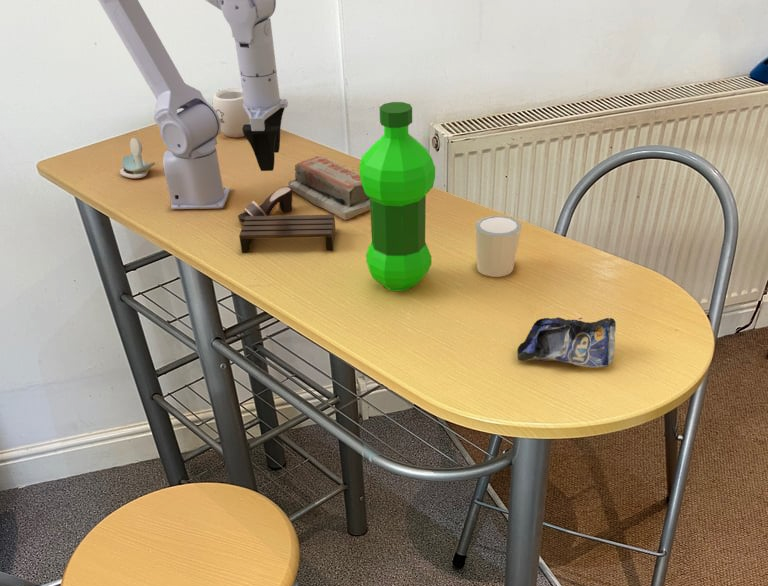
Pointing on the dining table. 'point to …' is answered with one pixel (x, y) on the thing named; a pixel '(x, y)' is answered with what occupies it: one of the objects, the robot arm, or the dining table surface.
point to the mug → (231, 111)
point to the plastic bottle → (397, 201)
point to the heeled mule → (270, 204)
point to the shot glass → (497, 245)
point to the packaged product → (330, 187)
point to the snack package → (570, 342)
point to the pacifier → (139, 165)
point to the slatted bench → (287, 228)
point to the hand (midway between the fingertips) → (270, 160)
